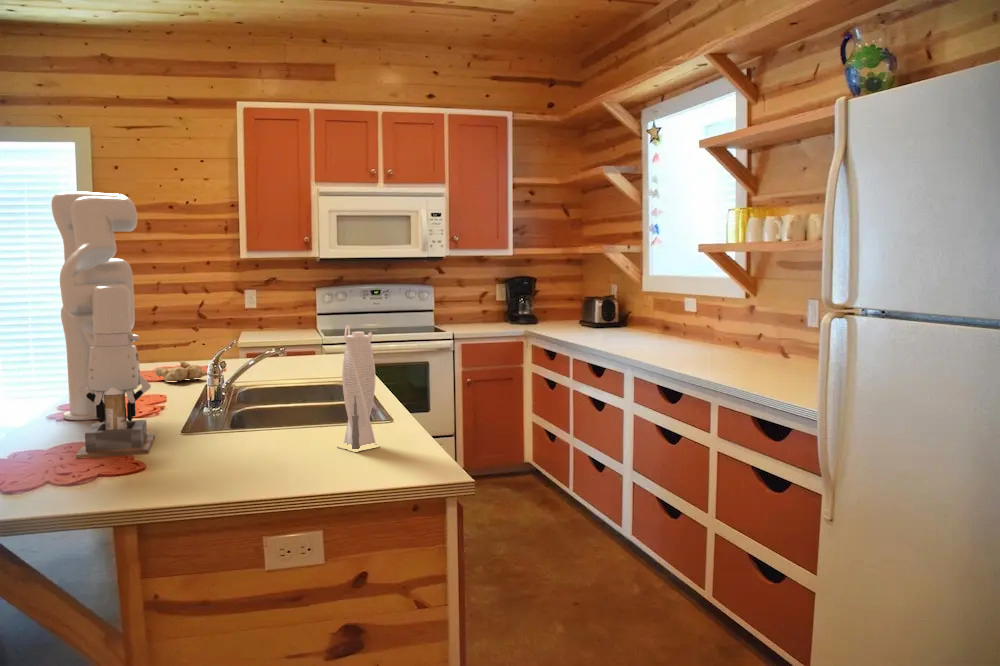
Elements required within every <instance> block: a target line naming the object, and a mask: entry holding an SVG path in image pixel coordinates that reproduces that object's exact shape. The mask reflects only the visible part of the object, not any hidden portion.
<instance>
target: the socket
mask: <svg viewBox="0 0 1000 666" xmlns="http://www.w3.org/2000/svg"><path fill="white" fill-rule="evenodd" d="M147 430H148V429H147V419H138V420H137V419H136V420H131V421H129V420H127V429H117V430H106V425H105V421H104V422H101V423H100V422H93V423H92V424H91V425H90V427H89V428H88V429H87V430H86V431H85V433H84V440H85V441H84V442H85V443H84V444H83V446H82V447H80V449H79V450H78V452H77V453H76V454H75V459H76V458H80V459H85V458H84V457H93V458H103V457H104V458H106V457H114V456H115V457H116V456H117V457H119V455H120V456H131V455H132V456H133V455H147V454H149V451H150V450H151V447H152V445H153V443H154V440H155V437H156V433H147ZM82 457H83V458H82Z"/></svg>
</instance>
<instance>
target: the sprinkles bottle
mask: <svg viewBox="0 0 1000 666" xmlns="http://www.w3.org/2000/svg"><path fill="white" fill-rule="evenodd" d="M103 394H104V403H105V408H104V410H105V420H104V422H105V425H106V430H117V429H127V421H128V418H127V404H126V391H120V390H117V389H116V388H110V389H109V390H108V391H105V392H103Z"/></svg>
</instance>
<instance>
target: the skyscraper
mask: <svg viewBox="0 0 1000 666" xmlns="http://www.w3.org/2000/svg"><path fill="white" fill-rule="evenodd" d="M344 329H345V330H344V337H343V338H344V340H345V347H344V353H343V360H342V361H343V362H342V373H341V374H342V375H341V377H342V378H341V379H342V391H343V398H344V399H343V400H344V406H345V411H346V415H347V418H348V420H347V424H346V429H345V430H346V431H345V434H344V439H343V444H344V443H347V445H348V444H351V445H352V449H359V448H360V446H362V445H366V444H371V443H376V439H375V435H374V431H373V426H372V423H371V419H370V417H371V412H372V409H373V404H374V398H375V390H376V366H375V365H376V364H375V359H374V358H375V357H374V352H373V347H372V342H371V340H372V337H373V332H372V331H369V332H368V334H365V332H364V331H351V325H350V323H349V324H347V325H346V326H345V328H344Z"/></svg>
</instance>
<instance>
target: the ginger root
mask: <svg viewBox="0 0 1000 666" xmlns="http://www.w3.org/2000/svg"><path fill="white" fill-rule="evenodd" d="M179 363H180V366H177V367H169V368H165V367H156V368H155V370H154V374H155V376H156V377H158V376H163V377H164V379H163V380H164V382H166V381H179V382H183V381H182V380H185V379H194V378H201V377H202V378H203V377H205V376H208V375H207V372H208V371H205V370H204V369H202V368H203V367H202V366H200V365H198V364H197V365H196V364H190V363H188V362H186V361H185V360H182V359H180V360H179ZM202 378H201V379H202Z"/></svg>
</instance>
